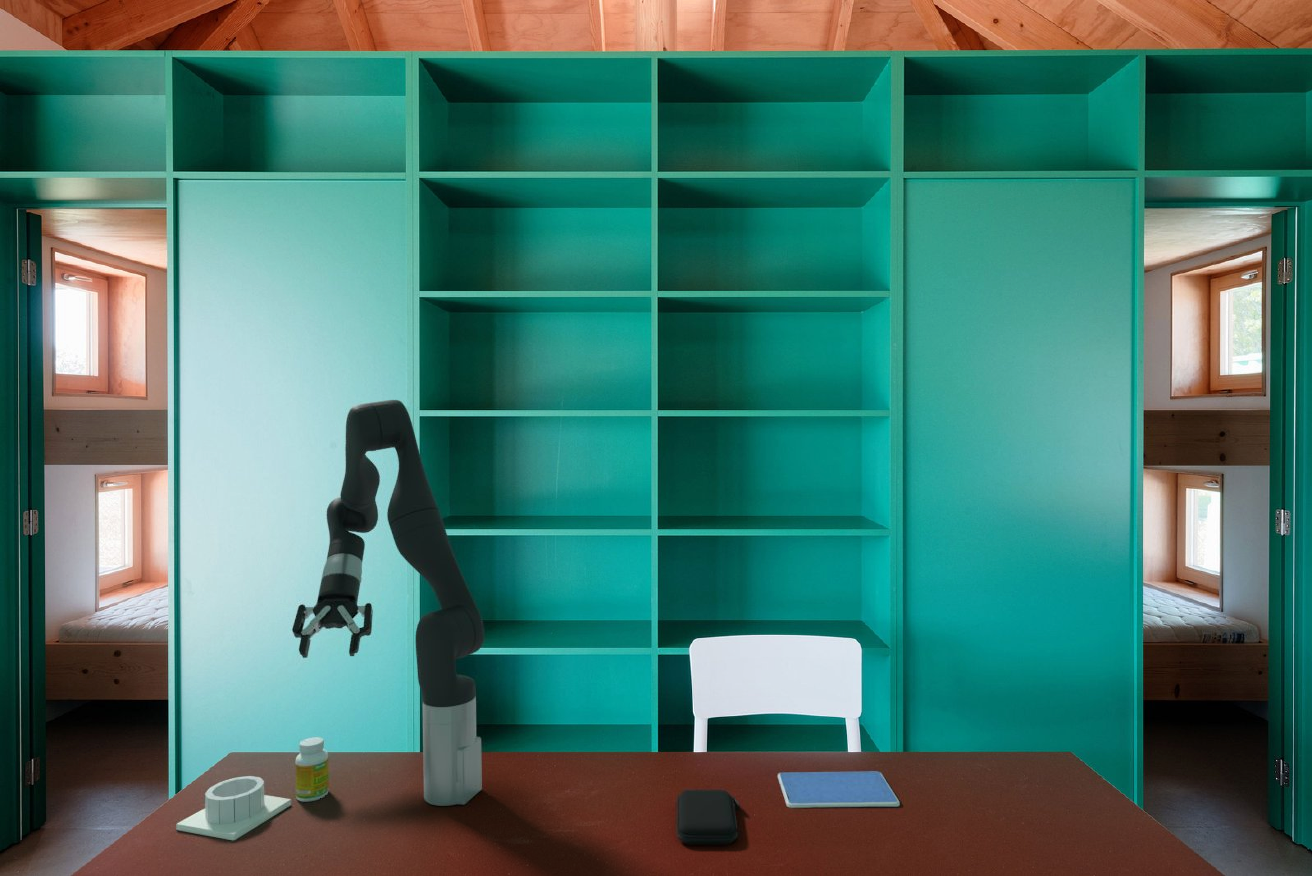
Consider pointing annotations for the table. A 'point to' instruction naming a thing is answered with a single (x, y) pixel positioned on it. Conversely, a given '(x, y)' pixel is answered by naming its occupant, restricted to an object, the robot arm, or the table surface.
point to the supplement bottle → (312, 770)
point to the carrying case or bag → (706, 817)
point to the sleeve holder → (234, 809)
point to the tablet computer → (836, 789)
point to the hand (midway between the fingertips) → (328, 655)
